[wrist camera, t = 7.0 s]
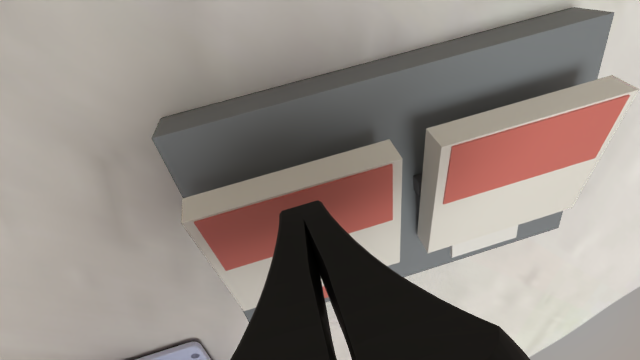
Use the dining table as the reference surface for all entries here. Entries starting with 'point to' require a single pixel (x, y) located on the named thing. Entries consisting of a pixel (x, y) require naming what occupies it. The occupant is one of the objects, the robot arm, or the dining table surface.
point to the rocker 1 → (290, 191)
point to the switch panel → (388, 115)
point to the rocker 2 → (515, 161)
